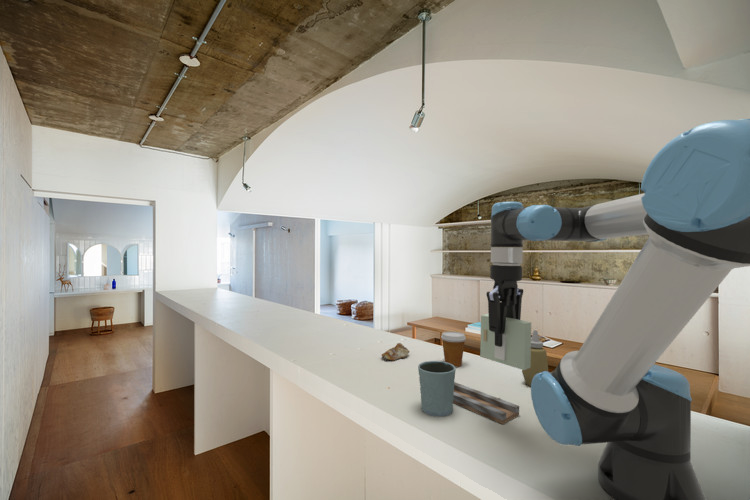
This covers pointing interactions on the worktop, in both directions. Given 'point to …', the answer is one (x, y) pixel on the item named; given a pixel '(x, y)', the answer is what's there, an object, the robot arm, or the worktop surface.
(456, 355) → the disposable coffee cup
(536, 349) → the squeeze bottle
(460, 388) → the track base
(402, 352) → the decorative stone
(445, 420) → the worktop surface
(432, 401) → the teal cup
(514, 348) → the door panel
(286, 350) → the worktop surface
